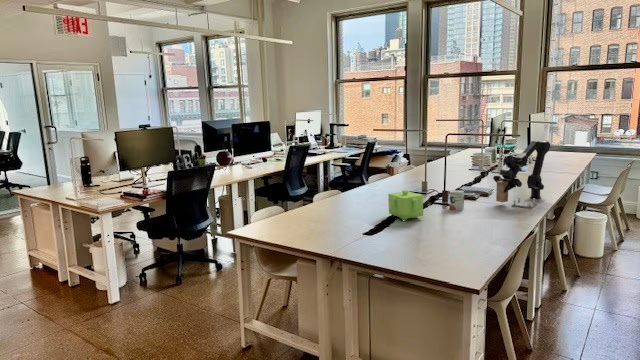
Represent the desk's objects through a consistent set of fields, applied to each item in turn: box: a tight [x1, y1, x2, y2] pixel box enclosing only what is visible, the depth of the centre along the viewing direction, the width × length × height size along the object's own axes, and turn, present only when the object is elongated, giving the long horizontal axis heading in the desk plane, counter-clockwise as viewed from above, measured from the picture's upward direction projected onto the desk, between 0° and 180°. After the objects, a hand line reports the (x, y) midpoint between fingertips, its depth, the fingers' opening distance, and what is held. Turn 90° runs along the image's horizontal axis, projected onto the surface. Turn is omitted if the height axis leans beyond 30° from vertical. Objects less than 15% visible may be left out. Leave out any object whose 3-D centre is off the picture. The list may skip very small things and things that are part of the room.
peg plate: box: [511, 196, 538, 209], centre depth 287 cm, size 12×12×4 cm
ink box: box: [448, 189, 465, 211], centre depth 286 cm, size 9×5×12 cm, turn 62°
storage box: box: [387, 189, 424, 221], centre depth 271 cm, size 25×23×17 cm
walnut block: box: [495, 181, 509, 203], centre depth 289 cm, size 5×5×13 cm
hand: (500, 191), depth 288 cm, fingers closed on walnut block, 5 cm apart
